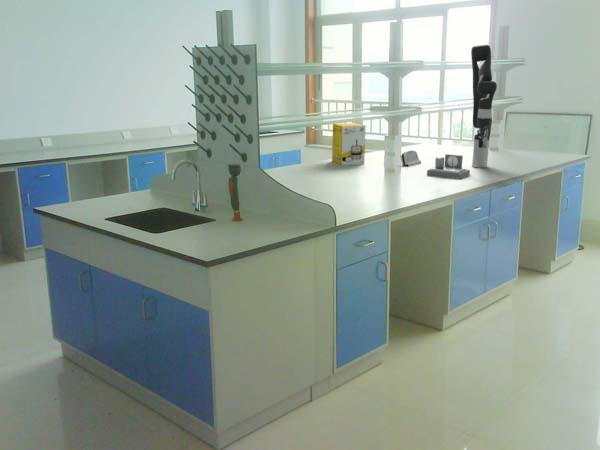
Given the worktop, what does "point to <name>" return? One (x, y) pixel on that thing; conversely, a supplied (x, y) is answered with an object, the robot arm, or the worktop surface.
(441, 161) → the cylinder
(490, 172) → the worktop surface
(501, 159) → the worktop surface
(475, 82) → the robot arm
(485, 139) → the cylinder
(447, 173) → the scale
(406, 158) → the grey rounded panel
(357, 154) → the packaging box
